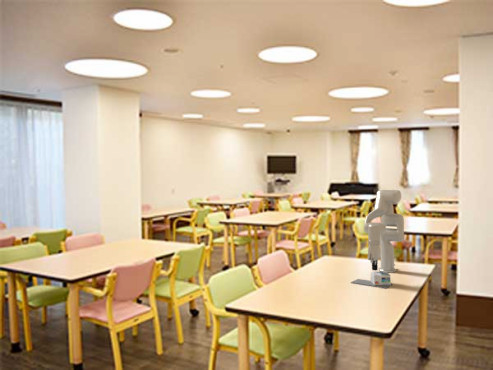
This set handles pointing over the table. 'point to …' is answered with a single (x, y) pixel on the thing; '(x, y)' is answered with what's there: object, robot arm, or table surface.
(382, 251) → the robot arm
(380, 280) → the light bulb box
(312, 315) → the table surface
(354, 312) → the table surface
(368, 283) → the mat
